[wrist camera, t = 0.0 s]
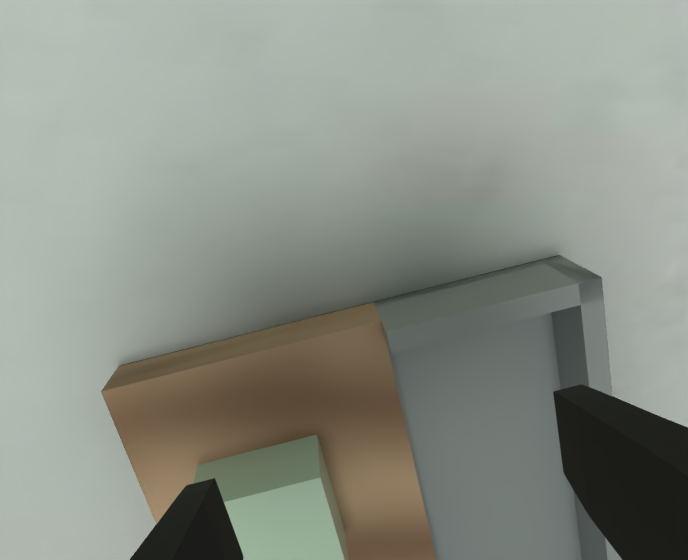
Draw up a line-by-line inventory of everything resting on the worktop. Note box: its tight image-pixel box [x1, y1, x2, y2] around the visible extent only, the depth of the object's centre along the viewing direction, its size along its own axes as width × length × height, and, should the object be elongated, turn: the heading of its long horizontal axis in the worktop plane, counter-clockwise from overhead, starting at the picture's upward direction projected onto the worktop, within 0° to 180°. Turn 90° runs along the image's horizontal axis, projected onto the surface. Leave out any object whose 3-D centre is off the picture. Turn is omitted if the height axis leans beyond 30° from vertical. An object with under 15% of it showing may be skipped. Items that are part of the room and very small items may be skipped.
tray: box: [374, 255, 622, 560], centre depth 23 cm, size 20×7×3 cm, turn 13°
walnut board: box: [101, 302, 436, 560], centre depth 23 cm, size 20×10×2 cm, turn 13°
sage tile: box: [193, 435, 348, 560], centre depth 20 cm, size 4×4×2 cm
